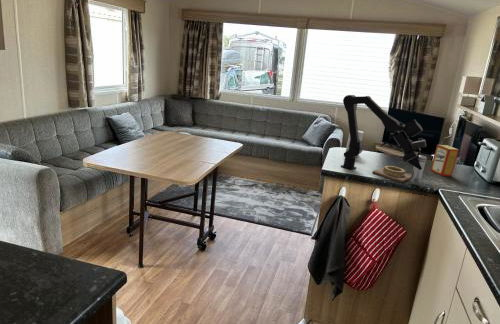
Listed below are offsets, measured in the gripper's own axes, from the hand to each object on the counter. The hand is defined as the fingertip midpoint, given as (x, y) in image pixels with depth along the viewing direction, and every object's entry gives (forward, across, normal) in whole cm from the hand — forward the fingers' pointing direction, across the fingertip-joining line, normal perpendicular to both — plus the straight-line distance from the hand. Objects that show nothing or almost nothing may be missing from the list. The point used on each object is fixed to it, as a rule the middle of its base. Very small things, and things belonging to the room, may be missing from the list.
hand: (421, 168), depth 180 cm
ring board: (-3, +7, +16) cm, 17 cm away
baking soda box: (+12, +38, +1) cm, 40 cm away
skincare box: (-23, +31, +36) cm, 53 cm away
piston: (+4, 0, +6) cm, 7 cm away
